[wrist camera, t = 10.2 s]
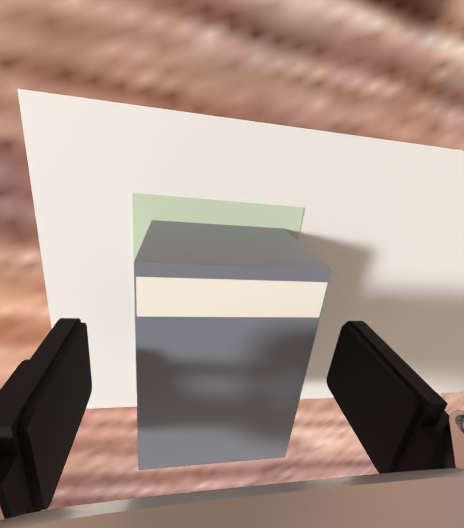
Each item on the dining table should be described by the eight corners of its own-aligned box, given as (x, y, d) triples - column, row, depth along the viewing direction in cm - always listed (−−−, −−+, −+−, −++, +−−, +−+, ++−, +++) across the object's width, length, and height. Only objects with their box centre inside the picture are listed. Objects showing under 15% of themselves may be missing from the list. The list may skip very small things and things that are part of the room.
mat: (572, 166, 14) (584, 167, 14) (458, 387, 19) (464, 392, 19) (23, 90, 10) (16, 88, 9) (66, 403, 15) (62, 410, 14)
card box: (258, 373, 15) (284, 457, 11) (151, 377, 14) (138, 470, 10) (283, 228, 12) (332, 270, 8) (151, 220, 11) (133, 262, 7)
